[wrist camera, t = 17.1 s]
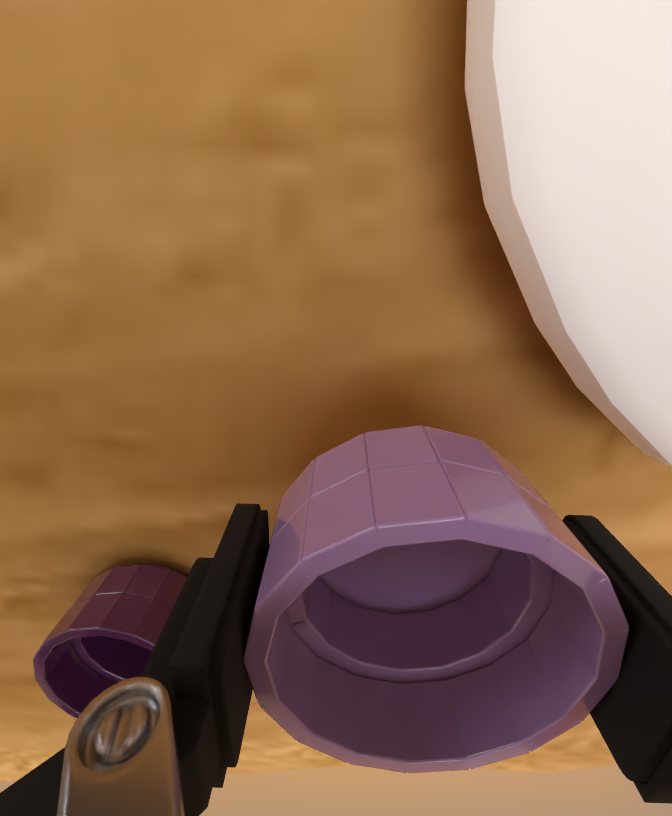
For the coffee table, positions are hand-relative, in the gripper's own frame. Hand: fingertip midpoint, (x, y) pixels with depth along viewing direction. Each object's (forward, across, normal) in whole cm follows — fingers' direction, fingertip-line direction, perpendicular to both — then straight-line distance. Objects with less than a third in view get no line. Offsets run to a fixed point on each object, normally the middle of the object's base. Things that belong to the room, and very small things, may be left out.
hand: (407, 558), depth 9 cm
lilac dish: (+1, 0, 0) cm, 1 cm away
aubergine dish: (+7, +11, +10) cm, 16 cm away
